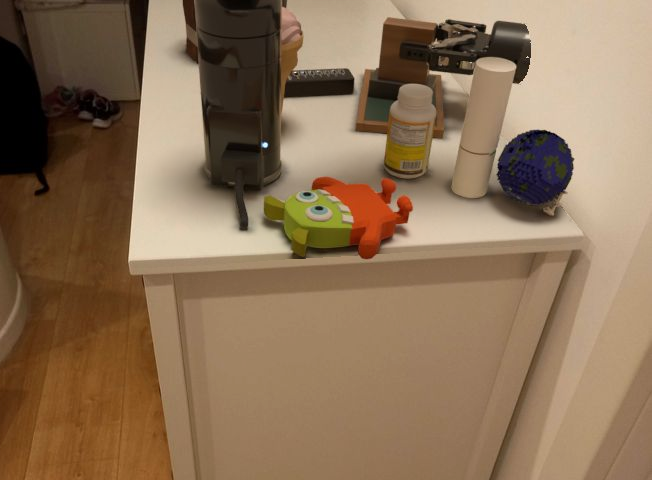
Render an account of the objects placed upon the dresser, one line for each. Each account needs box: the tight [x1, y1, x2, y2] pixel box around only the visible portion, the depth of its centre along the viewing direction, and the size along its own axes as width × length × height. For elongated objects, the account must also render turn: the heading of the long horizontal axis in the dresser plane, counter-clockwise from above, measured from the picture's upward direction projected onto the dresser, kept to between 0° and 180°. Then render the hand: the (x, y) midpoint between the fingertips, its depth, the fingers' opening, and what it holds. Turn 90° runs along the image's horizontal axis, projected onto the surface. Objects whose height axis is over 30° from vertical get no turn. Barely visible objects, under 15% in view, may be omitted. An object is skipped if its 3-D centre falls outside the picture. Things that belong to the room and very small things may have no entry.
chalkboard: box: [355, 68, 445, 139], centre depth 102 cm, size 20×12×1 cm, turn 173°
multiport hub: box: [284, 67, 356, 98], centre depth 104 cm, size 4×11×2 cm, turn 101°
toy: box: [263, 176, 414, 260], centre depth 75 cm, size 15×4×15 cm
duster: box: [368, 16, 438, 101], centre depth 98 cm, size 5×9×10 cm, turn 73°
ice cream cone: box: [281, 7, 304, 116], centre depth 89 cm, size 11×11×20 cm
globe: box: [496, 129, 575, 217], centre depth 79 cm, size 8×8×8 cm
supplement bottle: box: [383, 84, 437, 179], centre depth 84 cm, size 6×6×10 cm
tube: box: [450, 57, 516, 199], centre depth 79 cm, size 4×4×15 cm
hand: (405, 39), depth 97 cm, fingers open, 8 cm apart
